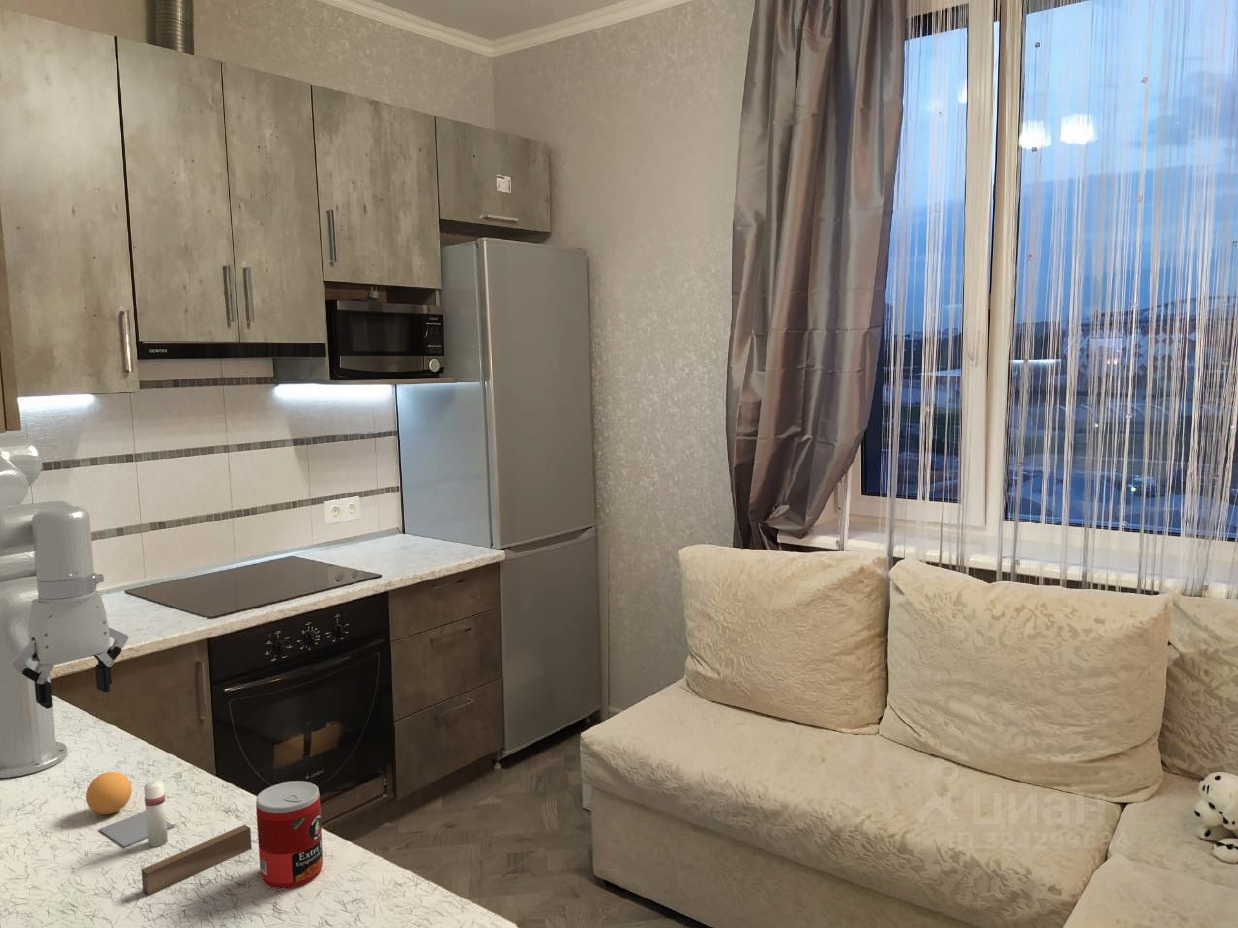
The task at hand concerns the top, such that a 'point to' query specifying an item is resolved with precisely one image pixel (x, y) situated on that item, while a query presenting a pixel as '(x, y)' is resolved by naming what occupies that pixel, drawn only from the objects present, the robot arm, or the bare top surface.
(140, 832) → the grey flat plate
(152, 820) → the pin
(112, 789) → the ball
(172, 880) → the back wall
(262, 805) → the canned food
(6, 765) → the robot arm
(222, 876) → the top surface
